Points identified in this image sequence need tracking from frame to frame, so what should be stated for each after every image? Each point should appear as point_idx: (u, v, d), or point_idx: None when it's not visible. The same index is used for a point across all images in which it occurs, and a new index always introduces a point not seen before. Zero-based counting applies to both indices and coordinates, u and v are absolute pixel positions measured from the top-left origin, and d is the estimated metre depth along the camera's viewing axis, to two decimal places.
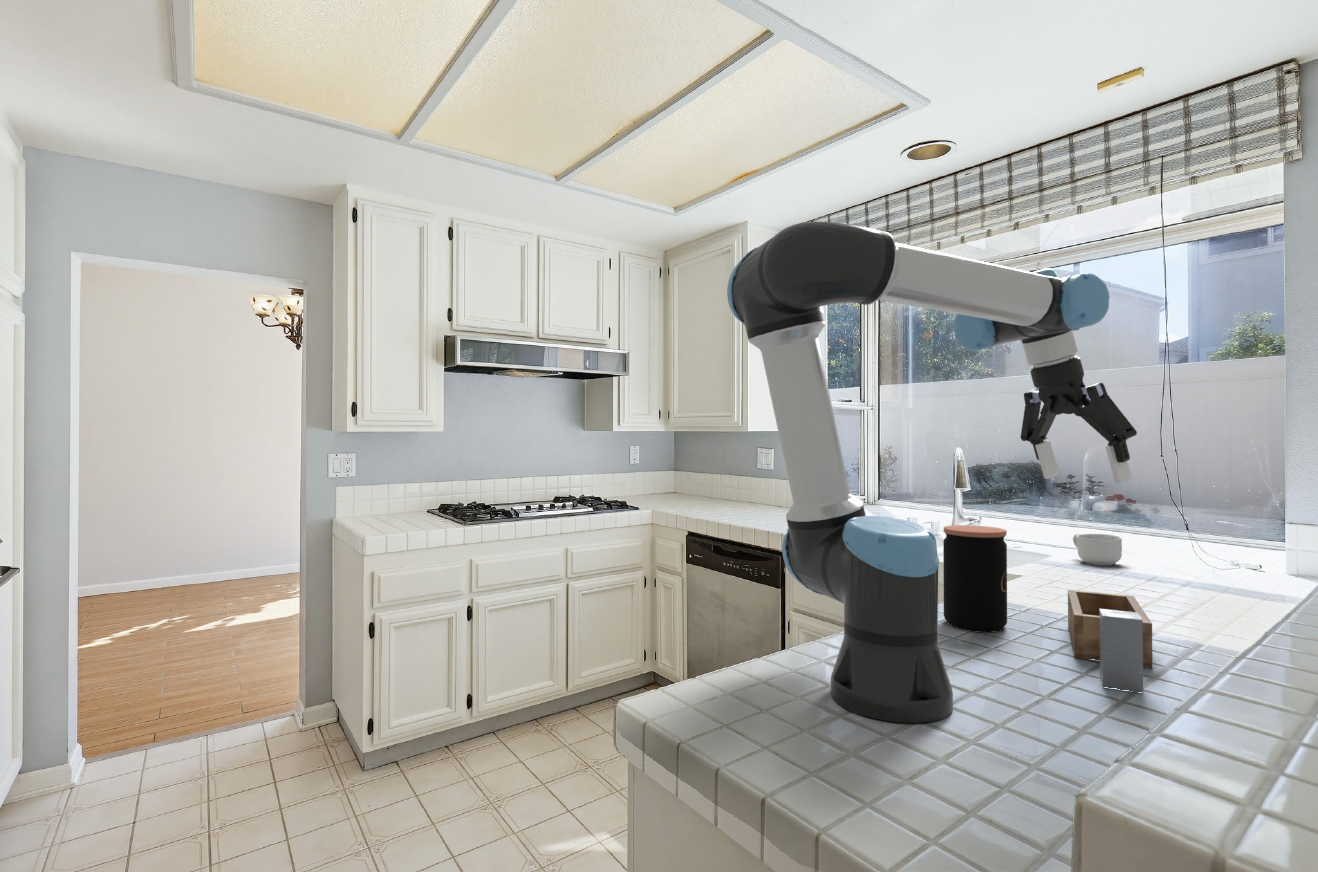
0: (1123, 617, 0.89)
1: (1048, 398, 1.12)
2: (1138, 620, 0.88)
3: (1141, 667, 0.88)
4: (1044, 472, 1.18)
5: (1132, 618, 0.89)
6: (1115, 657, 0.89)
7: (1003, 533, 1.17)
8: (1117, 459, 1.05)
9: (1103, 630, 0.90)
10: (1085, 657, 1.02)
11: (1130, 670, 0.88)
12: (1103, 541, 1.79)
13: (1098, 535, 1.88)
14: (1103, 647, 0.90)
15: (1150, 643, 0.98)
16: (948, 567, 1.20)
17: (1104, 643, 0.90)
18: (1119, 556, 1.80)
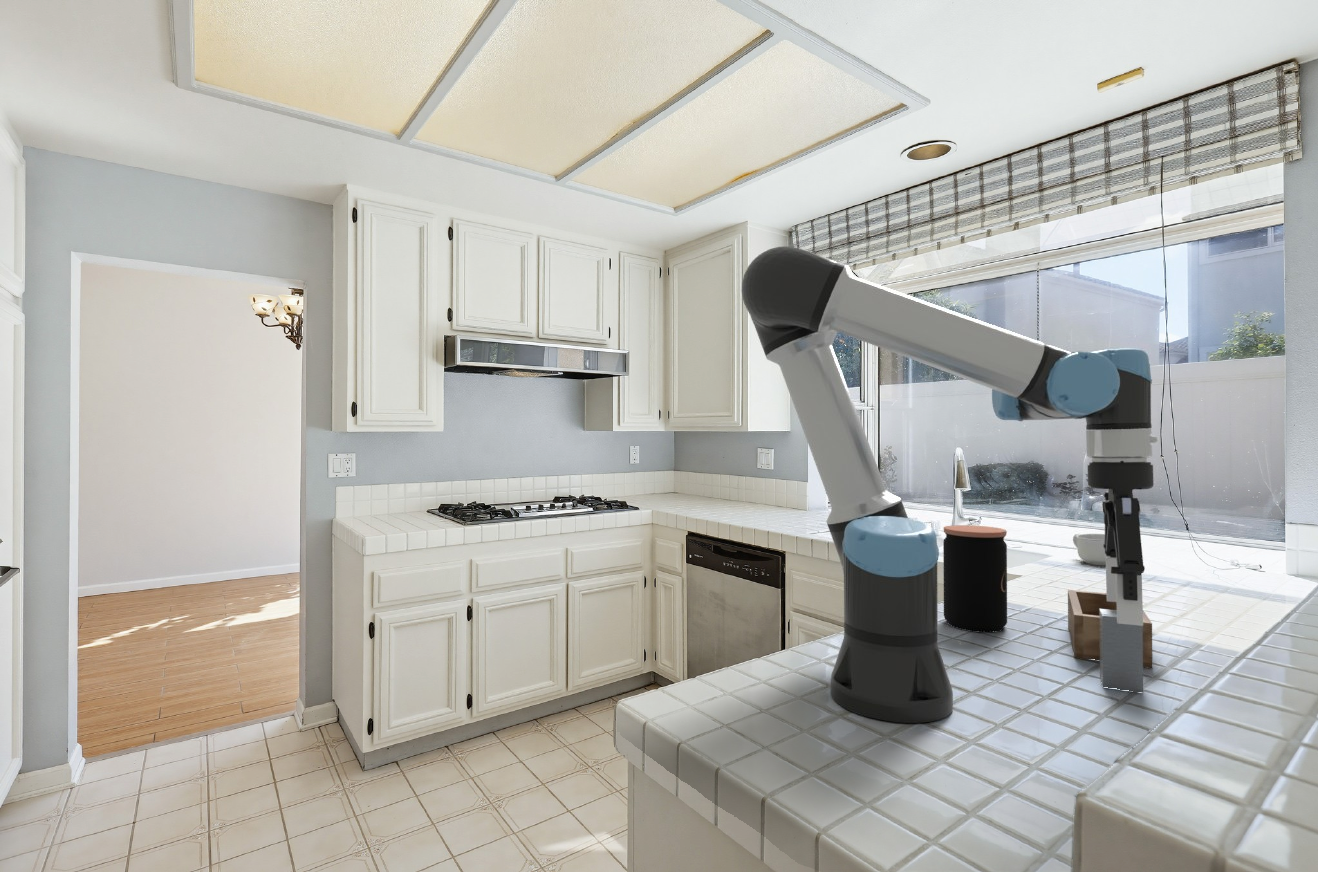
0: None
1: (1103, 502, 0.93)
2: None
3: (1141, 667, 0.88)
4: (1106, 592, 0.97)
5: None
6: (1115, 657, 0.89)
7: (1003, 533, 1.17)
8: (1123, 594, 0.85)
9: (1103, 630, 0.90)
10: (1085, 657, 1.02)
11: (1130, 670, 0.88)
12: (1103, 541, 1.79)
13: (1098, 535, 1.88)
14: (1103, 647, 0.90)
15: (1150, 643, 0.98)
16: (948, 567, 1.20)
17: (1104, 643, 0.90)
18: None
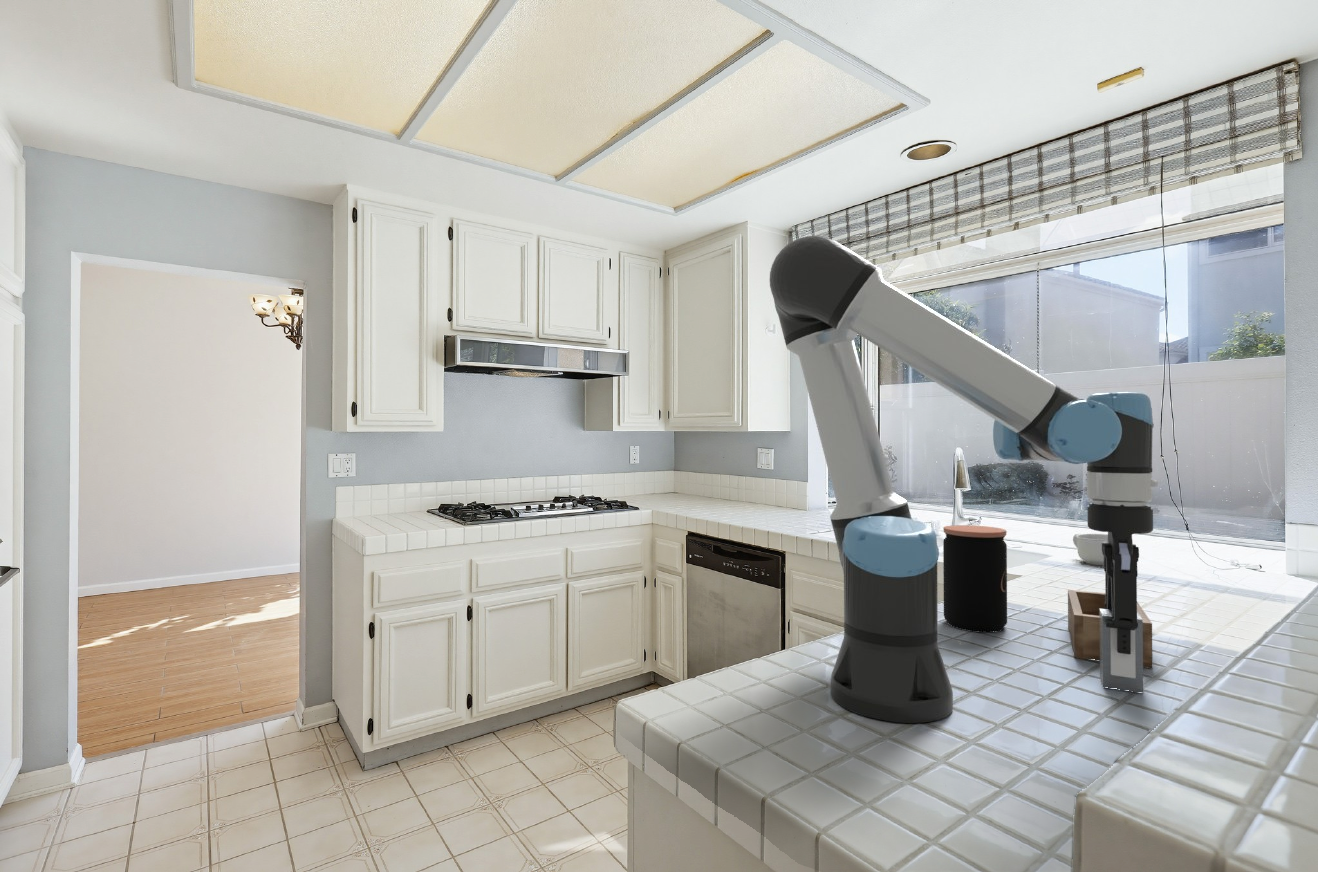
0: None
1: (1102, 543, 0.93)
2: (1138, 620, 0.88)
3: (1141, 667, 0.88)
4: None
5: None
6: None
7: (1003, 533, 1.17)
8: (1116, 647, 0.88)
9: (1103, 630, 0.90)
10: (1085, 657, 1.02)
11: None
12: (1103, 541, 1.79)
13: (1098, 535, 1.88)
14: (1103, 647, 0.90)
15: (1150, 643, 0.98)
16: (948, 567, 1.20)
17: (1104, 643, 0.90)
18: None
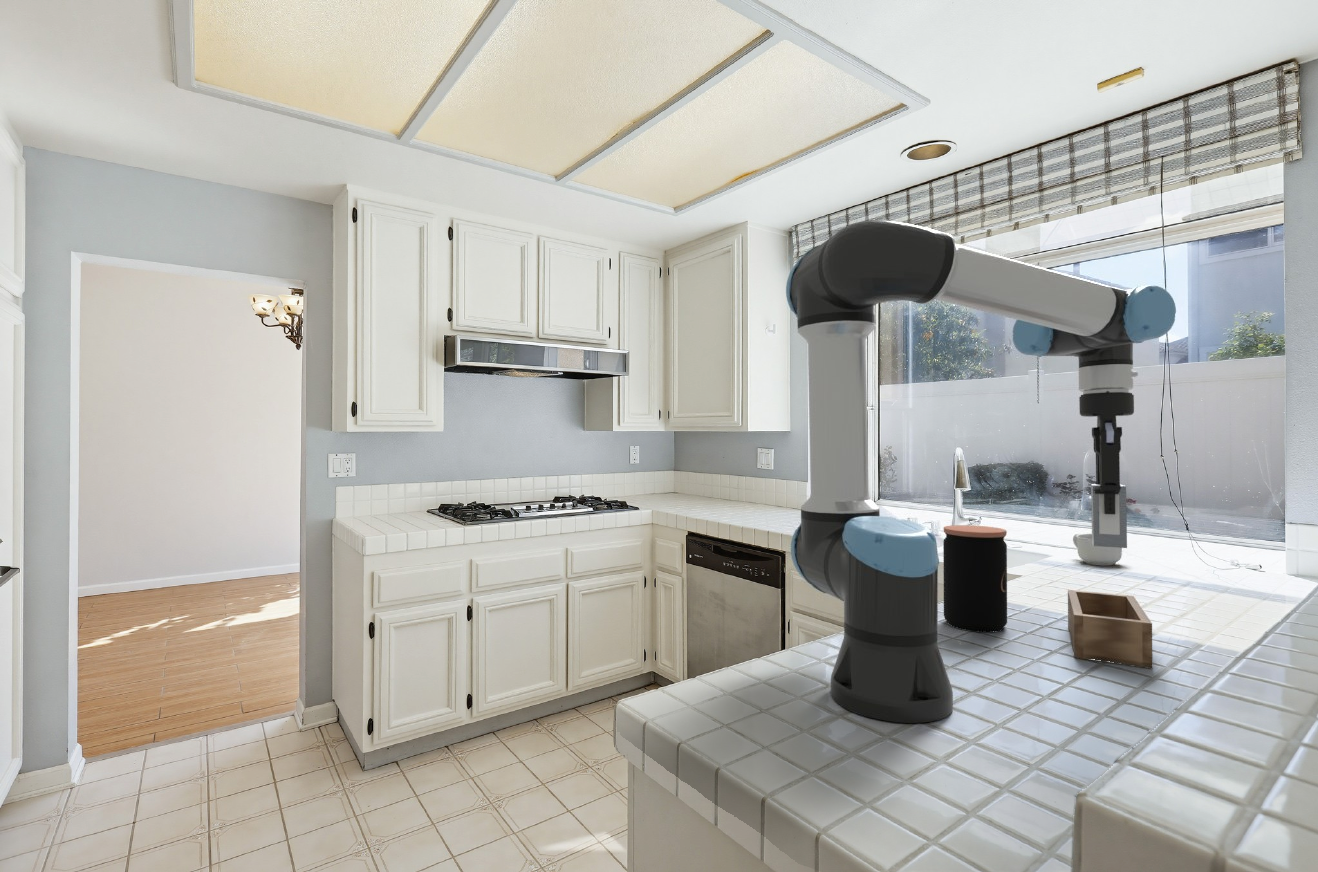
0: None
1: (1092, 428, 1.11)
2: (1122, 487, 1.06)
3: (1125, 525, 1.05)
4: None
5: None
6: None
7: (1003, 533, 1.17)
8: (1104, 510, 1.06)
9: (1093, 497, 1.07)
10: (1085, 657, 1.02)
11: None
12: None
13: None
14: (1093, 512, 1.08)
15: (1150, 643, 0.98)
16: (948, 567, 1.20)
17: (1094, 508, 1.07)
18: (1119, 556, 1.80)
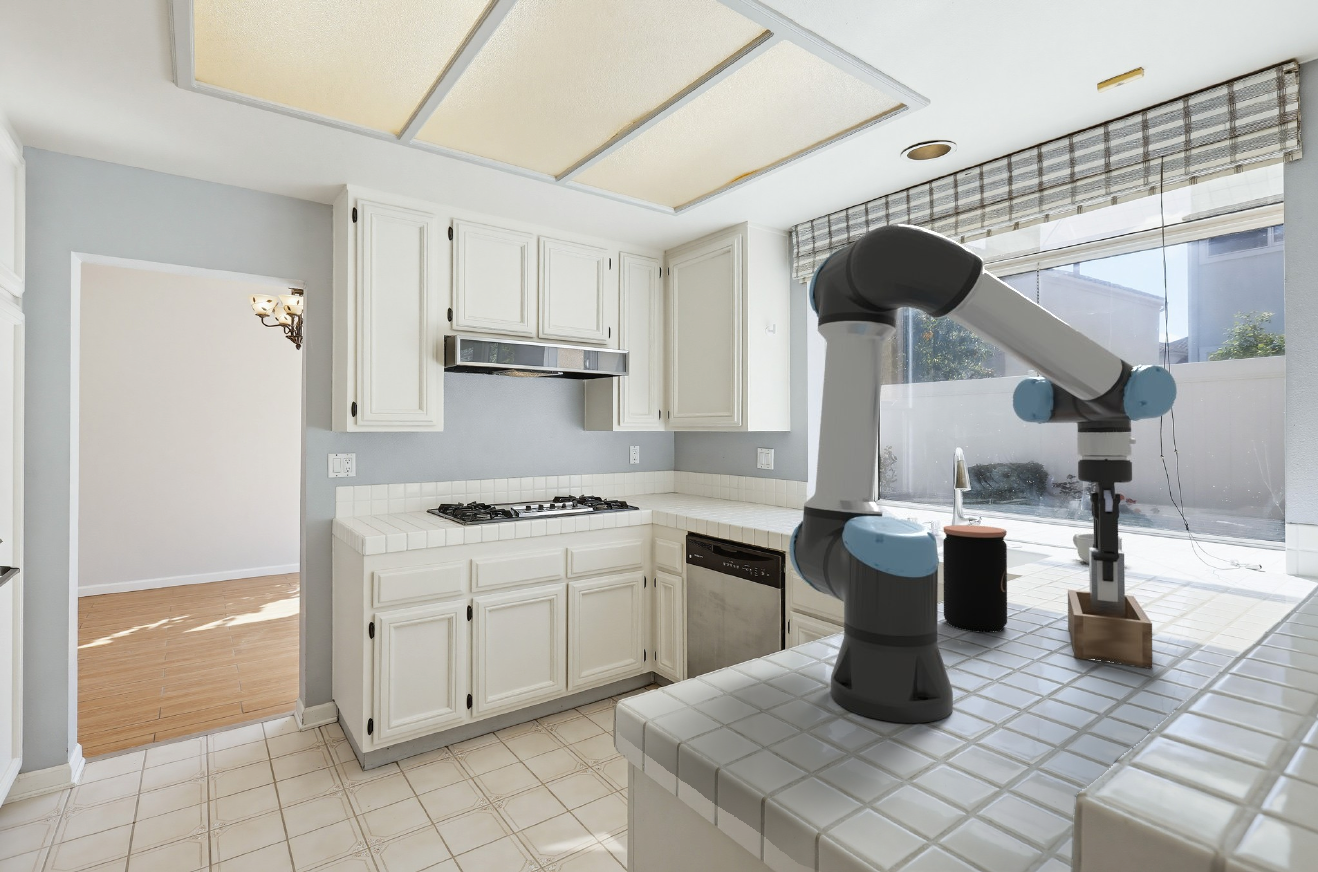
0: None
1: (1090, 493, 1.11)
2: (1120, 554, 1.06)
3: (1123, 592, 1.06)
4: None
5: None
6: None
7: (1003, 533, 1.17)
8: (1102, 577, 1.07)
9: (1092, 563, 1.08)
10: (1085, 657, 1.02)
11: None
12: None
13: None
14: (1092, 577, 1.08)
15: (1150, 643, 0.98)
16: (948, 567, 1.20)
17: (1092, 574, 1.08)
18: None
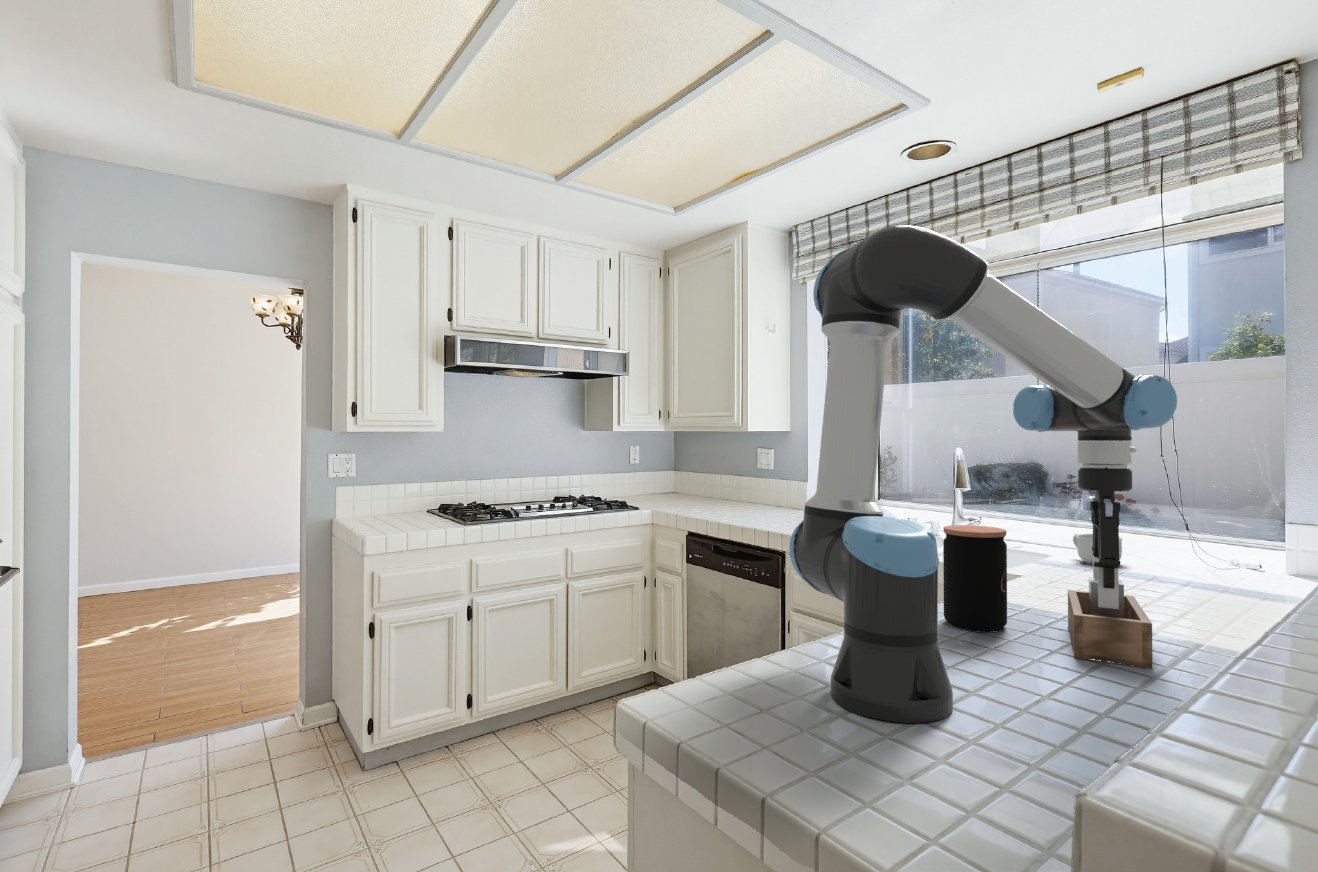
0: None
1: (1090, 501, 1.11)
2: (1120, 585, 1.06)
3: None
4: None
5: None
6: None
7: (1003, 533, 1.17)
8: (1103, 583, 1.05)
9: (1091, 594, 1.08)
10: (1085, 657, 1.02)
11: None
12: None
13: None
14: (1091, 608, 1.08)
15: (1150, 643, 0.98)
16: (948, 567, 1.20)
17: (1092, 604, 1.08)
18: (1119, 556, 1.80)
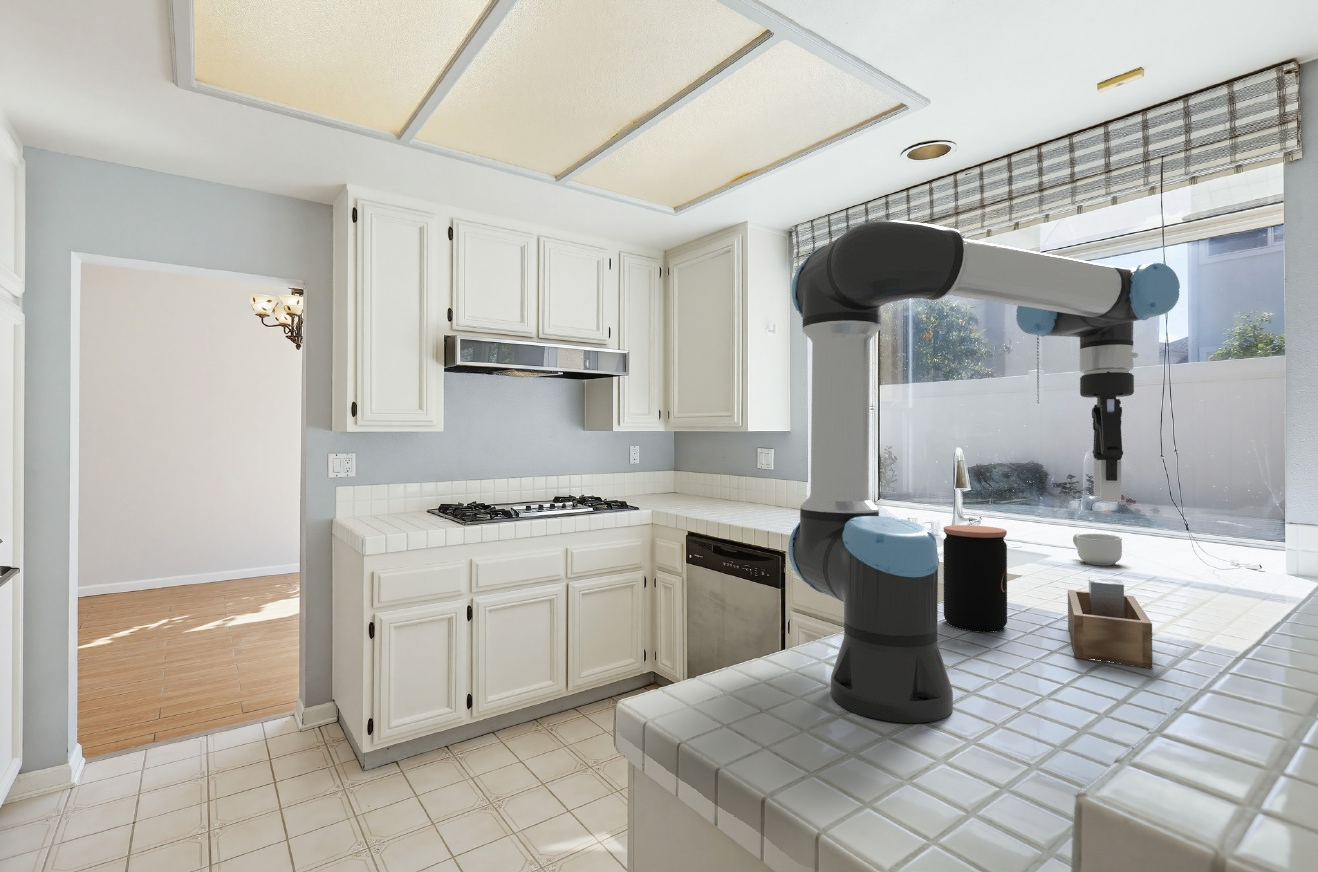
0: (1108, 583, 1.07)
1: (1092, 409, 1.12)
2: (1120, 585, 1.06)
3: None
4: None
5: (1115, 584, 1.07)
6: None
7: (1003, 533, 1.17)
8: (1105, 477, 1.04)
9: (1091, 594, 1.08)
10: (1085, 657, 1.02)
11: None
12: (1103, 541, 1.79)
13: (1098, 535, 1.88)
14: (1091, 608, 1.08)
15: (1150, 643, 0.98)
16: (948, 567, 1.20)
17: (1092, 604, 1.08)
18: (1119, 556, 1.80)
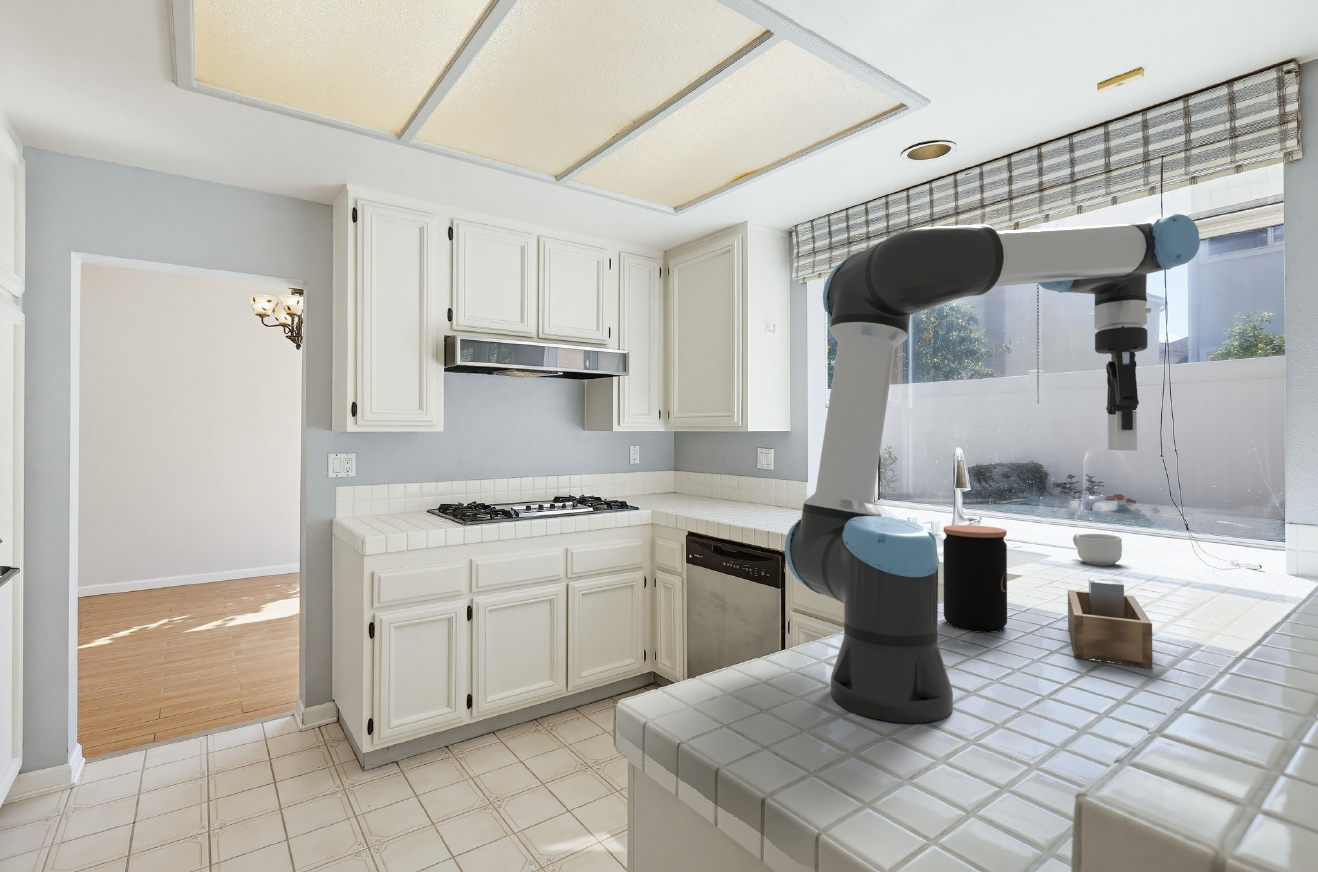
0: (1108, 583, 1.07)
1: (1106, 364, 1.16)
2: (1120, 585, 1.06)
3: None
4: (1108, 443, 1.20)
5: (1115, 584, 1.07)
6: None
7: (1003, 533, 1.17)
8: (1121, 427, 1.08)
9: (1091, 594, 1.08)
10: (1085, 657, 1.02)
11: None
12: (1103, 541, 1.79)
13: (1098, 535, 1.88)
14: (1091, 608, 1.08)
15: (1150, 643, 0.98)
16: (948, 567, 1.20)
17: (1092, 604, 1.08)
18: (1119, 556, 1.80)
